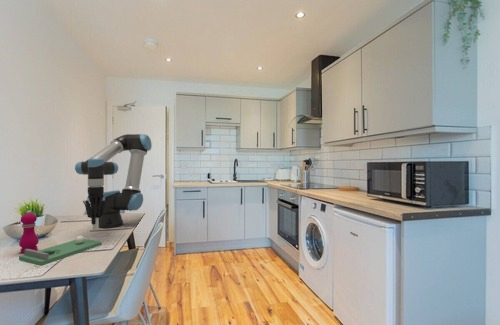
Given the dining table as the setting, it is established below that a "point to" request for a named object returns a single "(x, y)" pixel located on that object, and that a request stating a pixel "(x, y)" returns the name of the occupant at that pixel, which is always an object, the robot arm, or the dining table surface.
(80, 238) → the ball
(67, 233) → the dining table surface
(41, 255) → the putting mat
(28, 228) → the pepper mill
